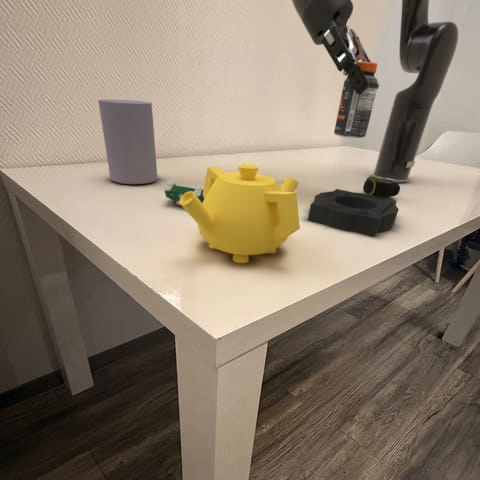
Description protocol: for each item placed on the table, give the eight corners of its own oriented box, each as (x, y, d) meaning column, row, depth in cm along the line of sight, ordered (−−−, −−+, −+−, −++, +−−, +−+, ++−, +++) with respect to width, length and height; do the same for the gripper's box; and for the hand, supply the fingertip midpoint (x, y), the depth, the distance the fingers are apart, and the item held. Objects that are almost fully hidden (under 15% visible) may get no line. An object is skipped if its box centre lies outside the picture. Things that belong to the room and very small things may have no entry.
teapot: (251, 218, 59) (257, 149, 53) (333, 254, 49) (353, 172, 42) (149, 242, 48) (141, 157, 41) (228, 295, 37) (233, 192, 31)
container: (101, 182, 72) (87, 100, 64) (124, 172, 81) (115, 98, 72) (145, 187, 71) (137, 104, 62) (164, 177, 79) (159, 102, 71)
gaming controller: (170, 209, 66) (156, 192, 60) (176, 192, 66) (163, 173, 60) (212, 217, 64) (203, 200, 58) (218, 199, 64) (209, 181, 58)
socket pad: (327, 201, 71) (330, 187, 69) (399, 217, 65) (405, 202, 63) (299, 219, 60) (302, 202, 59) (382, 239, 54) (388, 221, 53)
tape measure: (398, 200, 75) (403, 183, 73) (373, 201, 74) (378, 183, 71) (379, 192, 81) (384, 175, 79) (355, 192, 79) (359, 176, 77)
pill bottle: (332, 132, 66) (346, 61, 60) (362, 135, 66) (380, 63, 59) (334, 136, 62) (350, 59, 55) (367, 139, 61) (387, 61, 54)
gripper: (322, -35, 49) (379, 70, 51) (352, -11, 59) (398, 75, 61) (285, 14, 54) (337, 108, 56) (318, 28, 64) (361, 106, 66)
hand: (369, 90), depth 59 cm, fingers closed on pill bottle, 6 cm apart
